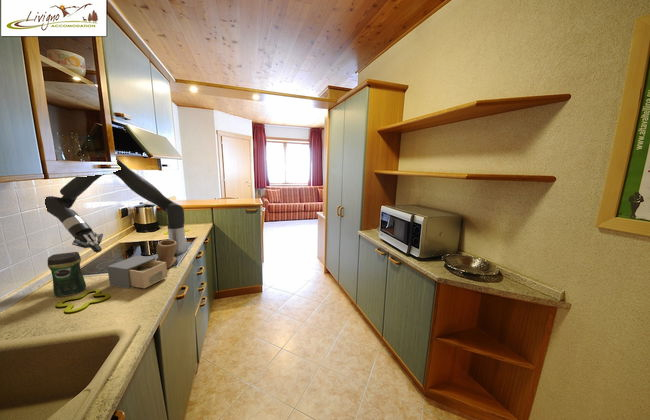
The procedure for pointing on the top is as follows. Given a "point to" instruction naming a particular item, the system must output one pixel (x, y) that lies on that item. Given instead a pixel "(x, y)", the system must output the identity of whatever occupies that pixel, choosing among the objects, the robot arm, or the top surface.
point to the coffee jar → (66, 273)
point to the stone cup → (167, 252)
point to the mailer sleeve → (125, 270)
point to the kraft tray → (147, 274)
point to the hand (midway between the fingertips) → (99, 251)
